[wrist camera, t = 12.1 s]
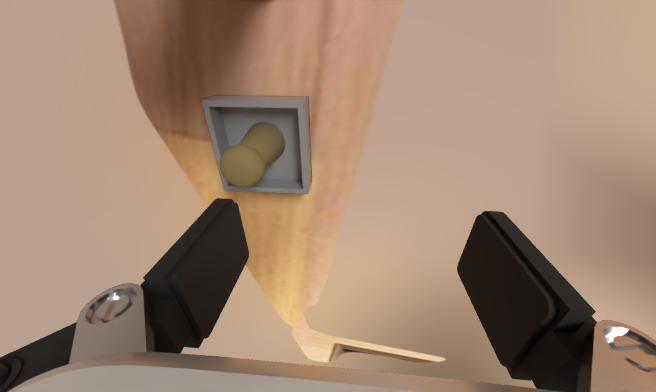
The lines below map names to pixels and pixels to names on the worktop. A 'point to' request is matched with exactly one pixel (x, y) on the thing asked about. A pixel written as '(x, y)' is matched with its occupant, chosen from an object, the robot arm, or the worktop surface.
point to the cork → (252, 155)
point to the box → (282, 111)
